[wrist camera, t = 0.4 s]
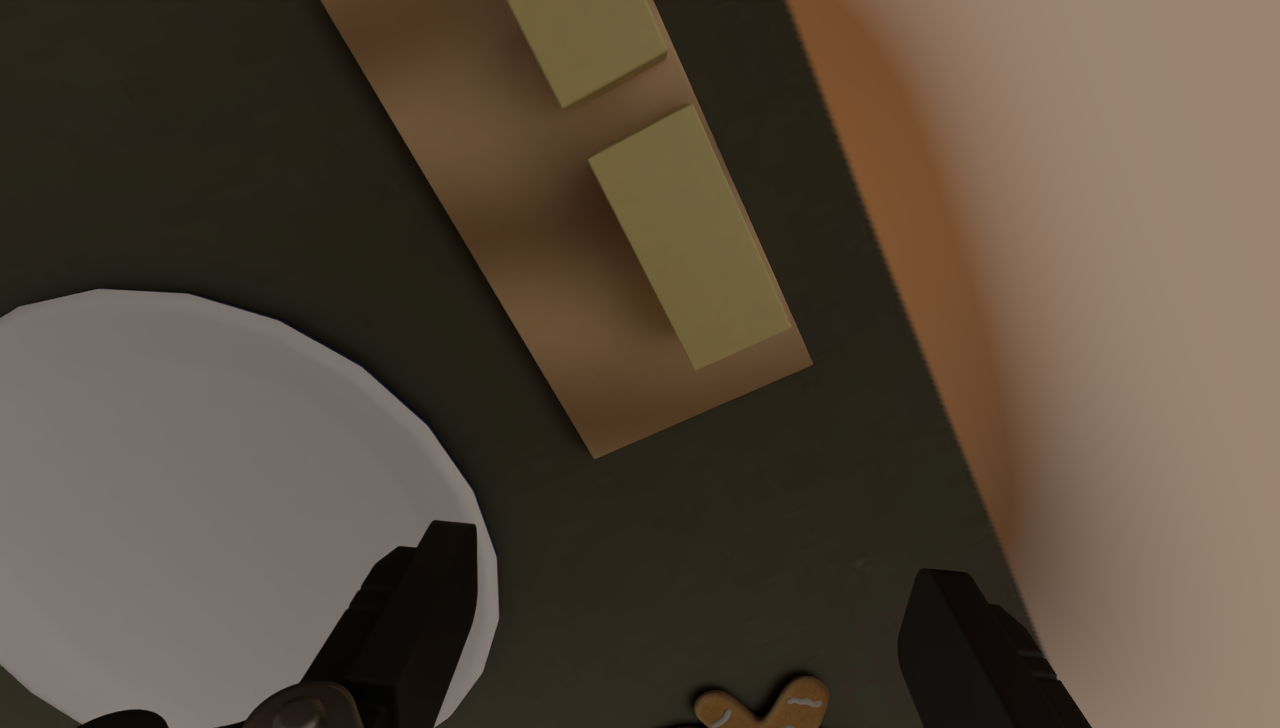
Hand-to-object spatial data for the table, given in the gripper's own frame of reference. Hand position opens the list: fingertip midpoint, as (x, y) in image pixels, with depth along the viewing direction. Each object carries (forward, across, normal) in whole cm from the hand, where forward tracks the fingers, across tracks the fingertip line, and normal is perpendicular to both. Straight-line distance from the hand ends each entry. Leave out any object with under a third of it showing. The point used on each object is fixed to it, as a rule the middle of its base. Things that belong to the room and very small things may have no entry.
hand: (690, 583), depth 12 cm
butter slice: (+13, +4, -10) cm, 16 cm away
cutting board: (+14, +4, -5) cm, 15 cm away
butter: (+13, 0, -4) cm, 13 cm away
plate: (+14, +19, +12) cm, 26 cm away
